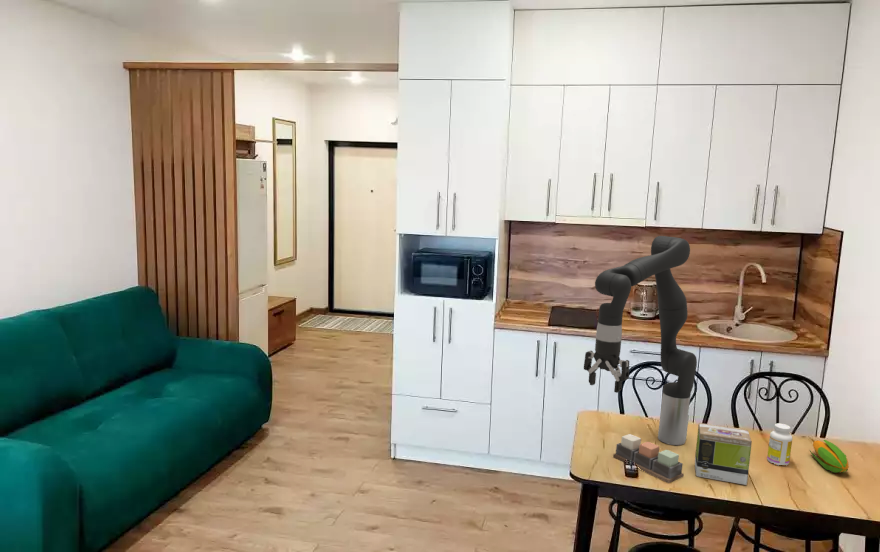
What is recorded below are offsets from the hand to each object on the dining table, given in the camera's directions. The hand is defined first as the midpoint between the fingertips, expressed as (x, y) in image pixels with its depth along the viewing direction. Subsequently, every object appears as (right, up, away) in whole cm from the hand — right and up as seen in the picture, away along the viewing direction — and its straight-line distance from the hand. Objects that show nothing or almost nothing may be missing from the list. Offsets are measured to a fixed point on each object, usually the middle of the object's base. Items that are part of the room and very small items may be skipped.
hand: (604, 388), depth 200 cm
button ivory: (+12, -23, +14) cm, 30 cm away
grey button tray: (+16, -27, +10) cm, 33 cm away
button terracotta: (+17, -24, +9) cm, 30 cm away
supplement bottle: (+63, -28, +17) cm, 71 cm away
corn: (+79, -29, +18) cm, 86 cm away
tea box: (+38, -29, +7) cm, 48 cm away
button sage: (+21, -25, +4) cm, 33 cm away
